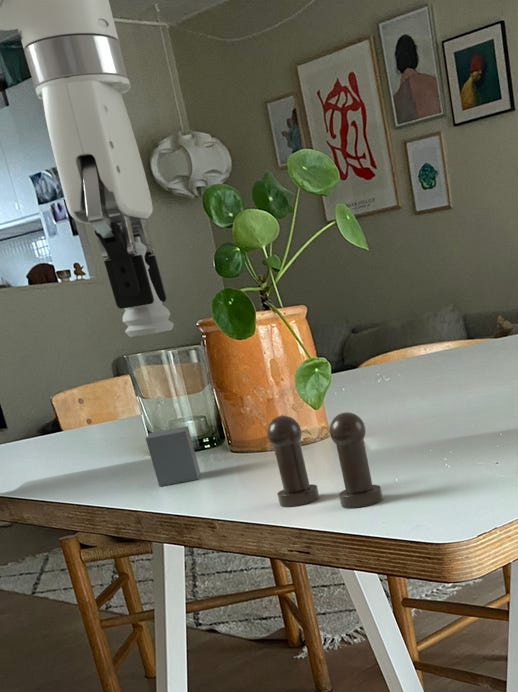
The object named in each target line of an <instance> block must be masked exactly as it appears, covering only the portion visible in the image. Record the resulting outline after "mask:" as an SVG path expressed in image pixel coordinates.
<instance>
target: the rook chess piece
mask: <svg viewBox="0 0 518 692" xmlns="http://www.w3.org/2000/svg"><path fill="white" fill-rule="evenodd" d="M135 241H136V242H135V244H136V249H137V255H142V256H143V260H144V264H145V268H146V271H147V275H148V279H149V282H150V286H151V290H152V294H153V297H154V302H153V303H152V304H148V305H142V306H136V307H130V308H123V309H124V313H123V315H122V323H123V324H125V325H126V326H127V328H126V329H125V330H124V333H125V334H126V335H127V336H129V338H133V337H139V336H145V335H151V334H158V333H163V332H168V331H173V328H174V325H175V323H174V322H172V321H171V320H169V319H170V316H171V311H170V310H169V308H167V307H166V306H164V305H163V302H162V301H160V299H159V298H158V296H157V294H156V292H155V289H154V287H153V284H152V282H151V279H150V276H149V272H148V269H149V266H148V265H147V264H146V262H145V258H144V256H145V253H146V250H147V247H146V246H145V245H144V244H142V243H141V240H140V237H135ZM137 255H135V256H137Z"/></svg>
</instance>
